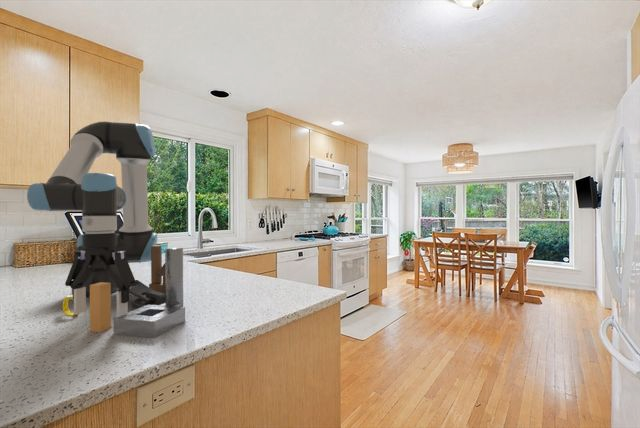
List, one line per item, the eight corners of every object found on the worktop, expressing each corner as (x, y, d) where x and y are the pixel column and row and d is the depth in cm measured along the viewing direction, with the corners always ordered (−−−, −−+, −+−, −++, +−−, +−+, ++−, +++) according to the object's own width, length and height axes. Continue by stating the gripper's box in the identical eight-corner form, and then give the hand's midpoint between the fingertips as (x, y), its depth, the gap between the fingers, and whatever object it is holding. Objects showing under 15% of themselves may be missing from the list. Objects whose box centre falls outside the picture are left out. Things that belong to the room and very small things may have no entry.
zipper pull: (138, 279, 115) (178, 288, 101) (138, 297, 115) (178, 308, 101) (111, 283, 108) (150, 294, 94) (111, 303, 108) (150, 316, 94)
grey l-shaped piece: (162, 311, 98) (162, 247, 98) (197, 314, 96) (197, 247, 95) (113, 334, 81) (112, 255, 80) (154, 337, 78) (153, 256, 78)
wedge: (101, 326, 86) (100, 282, 86) (111, 327, 85) (110, 282, 85) (90, 331, 83) (89, 285, 82) (100, 332, 82) (99, 285, 82)
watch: (82, 315, 96) (83, 296, 96) (73, 318, 93) (73, 298, 93) (69, 312, 98) (70, 292, 98) (59, 314, 95) (60, 295, 95)
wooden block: (169, 296, 116) (169, 247, 116) (148, 293, 120) (148, 245, 120) (177, 293, 119) (177, 246, 119) (157, 291, 124) (156, 244, 124)
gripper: (47, 233, 82) (48, 315, 82) (128, 233, 77) (129, 321, 77) (75, 231, 90) (76, 307, 90) (151, 231, 85) (152, 312, 85)
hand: (100, 314), depth 83 cm, fingers open, 13 cm apart
